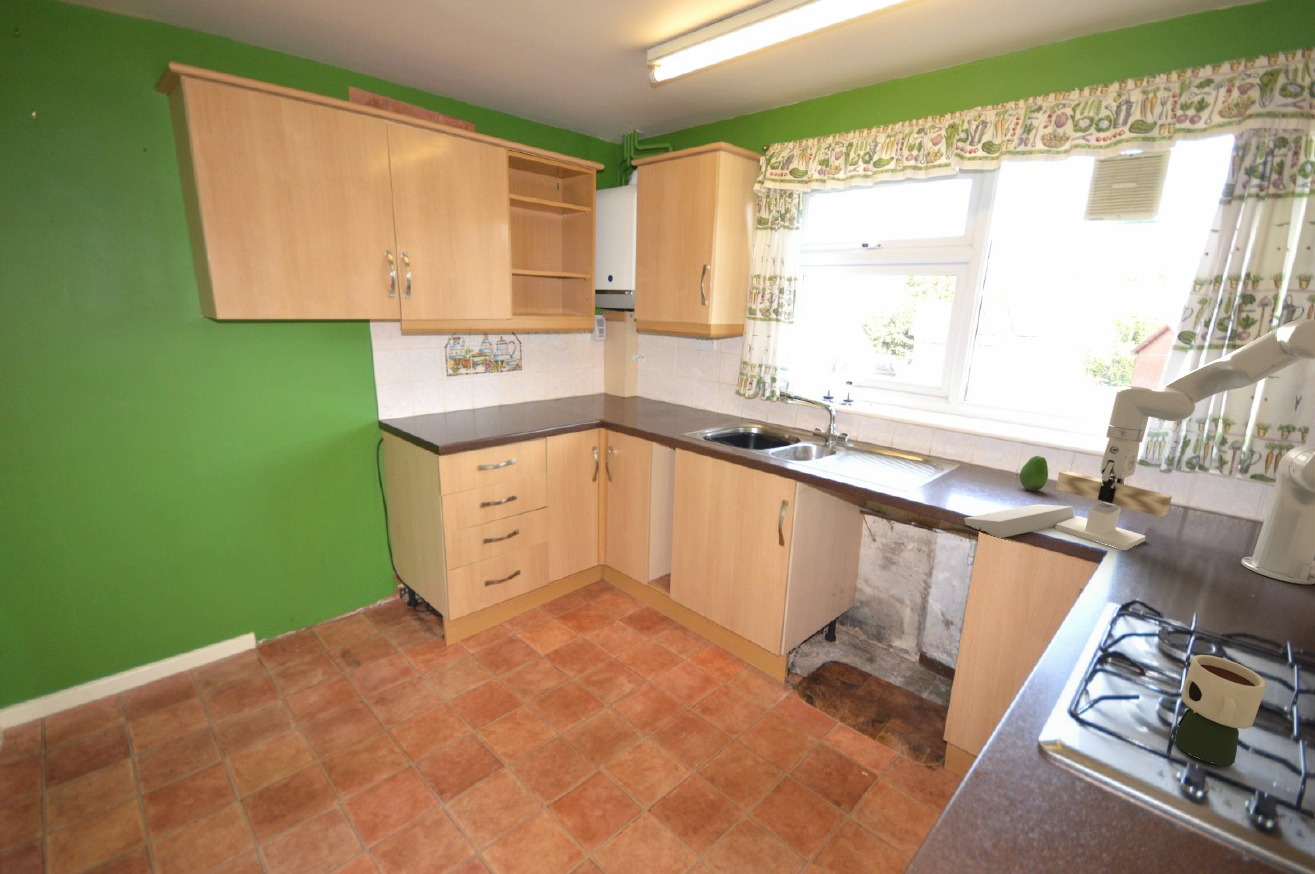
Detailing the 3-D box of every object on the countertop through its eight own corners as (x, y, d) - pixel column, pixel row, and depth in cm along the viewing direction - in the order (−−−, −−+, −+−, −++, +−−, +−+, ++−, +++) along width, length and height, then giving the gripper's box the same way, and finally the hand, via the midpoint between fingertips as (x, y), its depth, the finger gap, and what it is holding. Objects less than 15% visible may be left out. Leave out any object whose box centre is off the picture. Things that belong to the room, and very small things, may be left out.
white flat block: (965, 535, 160) (1000, 539, 151) (964, 518, 160) (999, 521, 151) (1038, 519, 175) (1074, 523, 166) (1036, 504, 175) (1072, 506, 166)
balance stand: (1144, 541, 155) (1152, 510, 152) (1124, 551, 147) (1133, 519, 145) (1076, 520, 167) (1083, 492, 165) (1055, 528, 160) (1062, 499, 158)
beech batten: (1167, 514, 146) (1172, 495, 145) (1161, 516, 144) (1166, 498, 143) (1061, 487, 165) (1065, 470, 164) (1055, 489, 163) (1059, 472, 162)
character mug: (1163, 719, 85) (1187, 641, 82) (1229, 742, 81) (1257, 662, 78) (1170, 763, 76) (1198, 679, 73) (1244, 792, 72) (1277, 704, 69)
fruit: (1011, 486, 197) (1018, 453, 194) (1028, 485, 200) (1036, 452, 197) (1032, 494, 190) (1040, 459, 187) (1050, 493, 192) (1058, 458, 189)
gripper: (1130, 440, 143) (1112, 509, 147) (1154, 434, 152) (1137, 499, 156) (1095, 433, 149) (1079, 500, 153) (1120, 428, 158) (1104, 491, 162)
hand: (1108, 499), depth 155 cm, fingers closed on beech batten, 4 cm apart
